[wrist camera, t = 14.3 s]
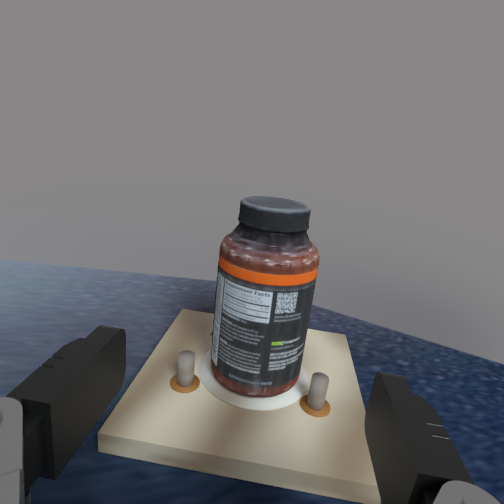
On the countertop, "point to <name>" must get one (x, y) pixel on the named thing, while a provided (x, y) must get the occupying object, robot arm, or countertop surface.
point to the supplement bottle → (263, 298)
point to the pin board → (247, 418)
